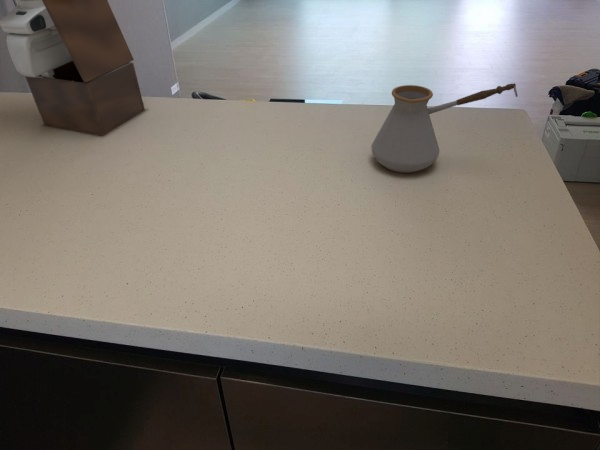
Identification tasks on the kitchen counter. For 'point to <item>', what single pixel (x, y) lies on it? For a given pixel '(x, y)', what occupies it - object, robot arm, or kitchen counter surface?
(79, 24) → the lid
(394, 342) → the kitchen counter surface
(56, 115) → the chest
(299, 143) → the kitchen counter surface
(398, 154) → the coffee pot
